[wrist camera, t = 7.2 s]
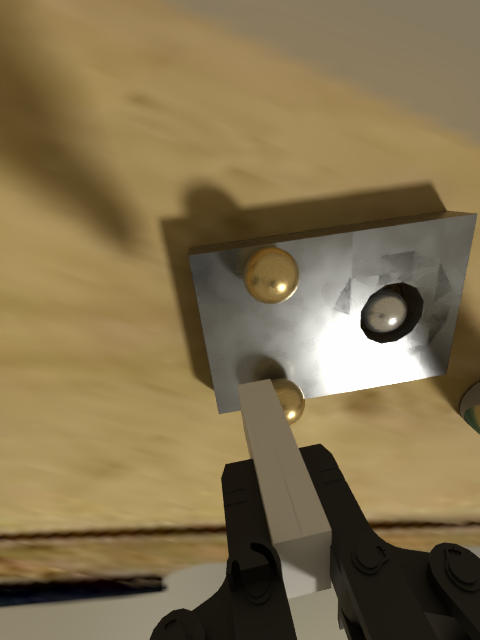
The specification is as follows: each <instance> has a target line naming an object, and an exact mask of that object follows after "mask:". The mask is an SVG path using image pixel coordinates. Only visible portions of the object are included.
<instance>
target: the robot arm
mask: <svg viewBox="0 0 480 640" xmlns="http://www.w3.org/2000/svg"><path fill="white" fill-rule="evenodd" d="M237 386H238V393H239V399H240V406H241V412H242V419H243V425H244V432H245V436H246V441H247V446H248V450H249V455H250V459H249V460H244V461H239V462H234V463H230V464H226V465H225V468H224V471H223V474H222V477H221V481H222V491H223V501H224V511H225V521H226V531H227V542H228V552H229V558H228V560H227V568H226V569H227V570H226V578H225V580H224V582H223V584H222V586H221V587H220V588H219V590H218V591H217V592H216V593H215V594H214V595H213V596H212V597H211V598H209V599H208V600H206V601H205V602H204V603H202V604H201V605H200V606H198V607H197V608H195V609H194V610H192V611H189V610H187V609H184V608H183V609H178V610H173V611H172V612H170V613H169V614H167V615H166V616H164V617H163V618H162V619H161V621H160V622H159V623H158V625H157V626H156V627H155V628H154V630H153V633H152V635H151V637H150V640H297V637H296V633H295V628H294V624H293V620H292V616H291V611H290V607H289V603H288V599H290V598H294V597H297V596H301V595H305V594H309V593H313V592H317V591H321V590H325V589H329V588H331V581H332V583H333V586H334V589H335V592H336V594H337V597H338V622H339V628H340V630H341V629H345V631H346V634H347V637H348V640H480V558H478V557H477V556H476V555H475V554H473V553H472V552H471V551H470V550H468V549H466V548H464V547H462V546H459V545H457V544H452V543H441V544H438V545H436V546H435V547H434V548H433V549H432V550H431V552H430V553H429V552H422V551H415V550H408V549H402V548H398V547H395V546H393V545H391V544H389V543H387V542H385V541H384V540H383V539H381V538H380V537H379V536H378V535H377V534H376V533H375V532H374V531H373V530H372V528H371V527H370V525H369V524H368V522H367V520H366V518H365V516H364V514H363V512H362V511H361V509H360V507H359V505H358V503H357V501H356V499H355V497H354V495H353V493H352V491H351V490H350V488H349V486H348V484H347V482H346V481H345V478H344V476H343V474H342V472H341V470H339V467H338V465H337V463H336V461H335V459H334V457H333V455H332V454H331V453H330V452H329V451H328V450H327V449H326V448H325V447H324V446H323V445H321V444H316V445H311V446H307V447H302V448H298V446H297V444H296V441H295V439H294V436H293V434H292V431H291V429H290V426H289V424H288V421H287V419H286V416H285V414H284V412H283V409H282V407H281V404H280V402H279V399H278V397H277V394H276V392H275V389H274V387H273V385H272V382H271V380H270V379H267V380H262V381H256V382H251V383H246V384H240V385H237Z"/></svg>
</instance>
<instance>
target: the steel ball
mask: <svg viewBox="0 0 480 640" xmlns="http://www.w3.org/2000/svg"><path fill="white" fill-rule="evenodd" d="M406 314H407V306H406V303H405V301H404V299H403V297H402V296H401V295H400V294H398V293H397V292H396V291H394V290H391V289H387V288H381V289H379V290H378V291H376V292H375V293H373V294H372V295H371V296H370V297H369V299H368V300H367V302H366V304H365V305H364V307H363V309H362V310H361V318H360V321H361V323H362V324H363V325H364V326H365V327H366V328H368V329H369V330H372V331H374V332H380V333H384V332H390V331H392V330H394V329H396V328H398V327H399V326H400V325H401V324H402V323H403V321H404V319H405V317H406Z"/></svg>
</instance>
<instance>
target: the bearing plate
mask: <svg viewBox="0 0 480 640" xmlns="http://www.w3.org/2000/svg"><path fill="white" fill-rule="evenodd" d="M476 219H477V214H476V213H465V212H454V211H443V212H436V213H429V214H422V215H415V216H408V217H401V218H395V219H388V220H381V221H374V222H367V223H360V224H353V225H346V226H339V227H332V228H325V229H318V230H311V231H304V232H297V233H290V234H283V235H277V236H270V237H263V238H256V239H249V240H242V241H235V242H228V243H221V244H214V245H207V246H200V247H193V248H190V250H189V255H188V256H189V262H190V267H191V272H192V277H193V282H194V287H195V293H196V298H197V303H198V308H199V313H200V319H201V324H202V329H203V334H204V339H205V345H206V350H207V355H208V360H209V365H210V370H211V376H212V381H213V386H214V391H215V396H216V402H217V407H218V412H219V414H222V413H228V412H234V411H239V410H241V406H240V399H239V393H238V386H237V385H240V384H246V383H251V382H256V381H262V380H267V379H270V380H273V379H277V378H285V379H288V380H291V381H293V382H294V383H296V384H297V385H298V386H299V387H300V389H301V390H302V392H303V395H304V398H305V399H308V398H313V397H319V396H325V395H330V394H336V393H342V392H348V391H353V390H359V389H365V388H370V387H376V386H382V385H387V384H393V383H399V382H405V381H410V380H416V379H422V378H427V377H433V376H439V375H444V374H446V373H447V368H448V362H449V357H450V352H451V347H452V342H453V337H454V332H455V326H456V321H457V316H458V311H459V306H460V301H461V296H462V291H463V285H464V280H465V275H466V270H467V265H468V260H469V255H470V249H471V244H472V239H473V234H474V229H475V224H476ZM268 247H276V248H280V249H283V250H285V251H287V252H288V253H290V254H291V255H292V256H293V257H294V259H295V260H296V262H297V264H298V267H299V270H300V280H299V284H298V287H297V289H296V291H295V292H294V293H293V295H292V296H291V297H290V298H288V299H287V300H285V301H283V302H281V303H278V304H264V303H261V302H259V301H257V300H255V299H254V298H253V297H252V296H251V295H250V294H249V293H248V291H247V290H246V288H245V285H244V281H243V271H244V267H245V264H246V263H247V261H248V259H249V258H250V257H251V256H252V255H253V254H254V253H255V252H257V251H259V250H261V249H263V248H268ZM394 283H398V284H399V286H400V287H401V289H402V294H401V296H402V297H403V299H404V301H405V303H406V306H407V314H406V317H405V319H404V321H403V323H402V324H401V325H400V326H399V327H398V328H396V329H394V330H392V331H390V332H384V333H380V332H374V331H372V330H369V329H362V328H360V318H361V310H362V309H363V307H364V305H365V304H366V302H367V300H368V299H369V297H370V296H371V295H372V294H373V293H375V292H376V291H378V290H379V289H381V288H382V287H383V286H385V285H388V284H394Z"/></svg>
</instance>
